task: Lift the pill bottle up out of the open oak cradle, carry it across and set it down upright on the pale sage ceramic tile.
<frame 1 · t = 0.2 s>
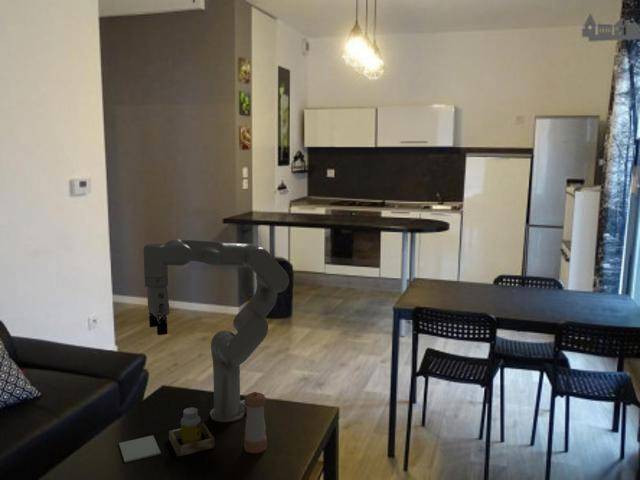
hand: (158, 330, 185), 36 cm above the table, tool pointing down, fingers open, 9 cm apart
ceramic tile: (139, 449, 178), on the table
pepper shaker: (255, 447, 180), on the table
pill bottle: (191, 444, 182), resting in oak cradle
oak cradle: (191, 443, 182), on the table
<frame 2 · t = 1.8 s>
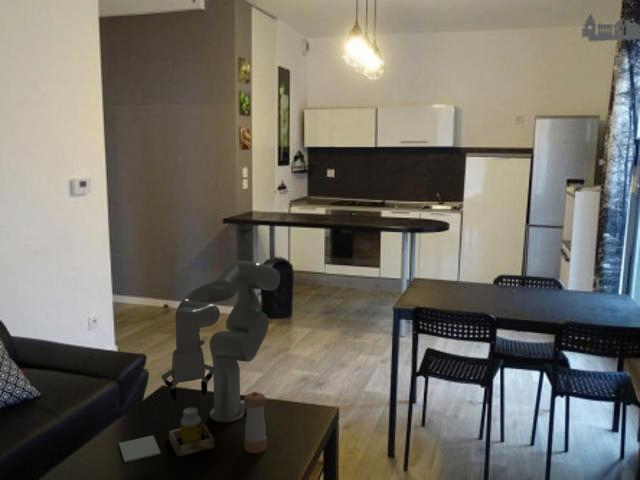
hand: (189, 396, 179), 17 cm above the table, tool pointing down, fingers open, 9 cm apart
nothing on the table moved.
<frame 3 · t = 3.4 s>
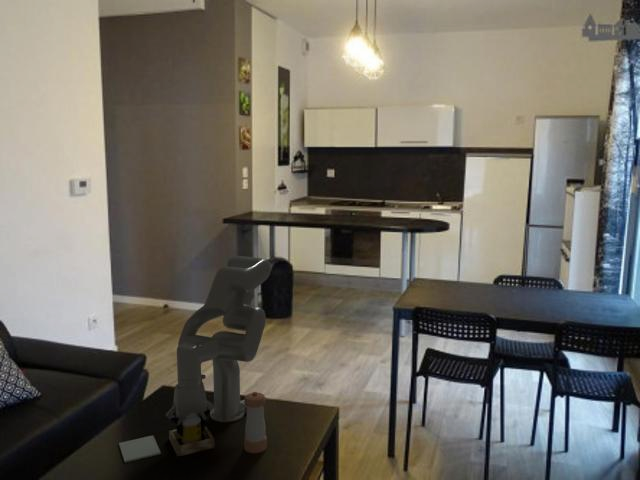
hand: (191, 431, 181), 4 cm above the table, tool pointing down, fingers closed on pill bottle, 6 cm apart
pill bottle: (191, 443, 182), resting in oak cradle, touching gripper
everything else where it was.
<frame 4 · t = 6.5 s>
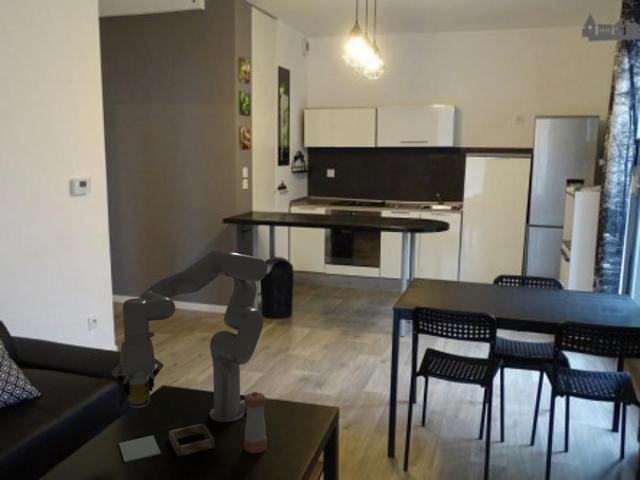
hand: (138, 391, 175), 20 cm above the table, tool pointing down, fingers closed on pill bottle, 6 cm apart
pill bottle: (139, 404, 176), point 16 cm above the table, touching gripper
everything else where it was.
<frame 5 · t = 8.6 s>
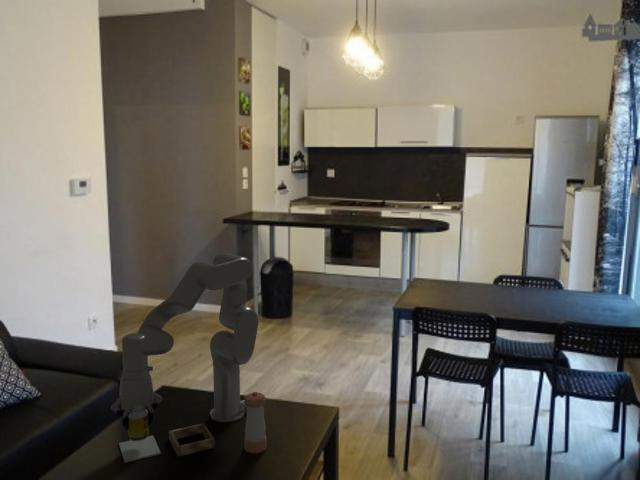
hand: (138, 424, 177), 9 cm above the table, tool pointing down, fingers closed on pill bottle, 6 cm apart
pill bottle: (138, 437, 177), point 4 cm above the table, touching gripper
everything else where it was.
when the fingers open (6 cm above the table, at t = 10.0 s): pill bottle drops 1 cm, resting on ceramic tile.
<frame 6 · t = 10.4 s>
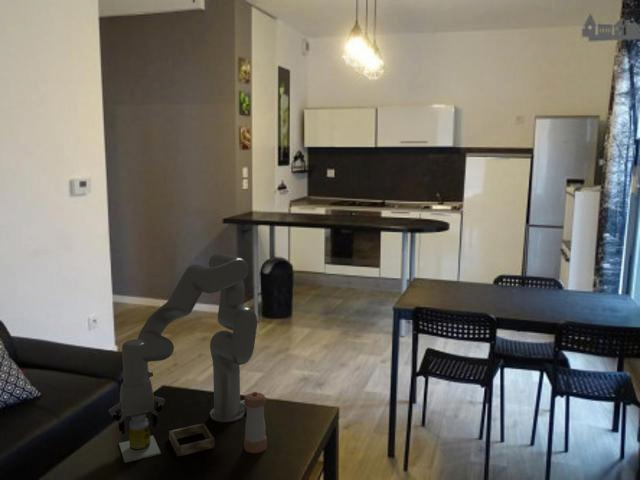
hand: (138, 428, 177), 7 cm above the table, tool pointing down, fingers open, 9 cm apart
pill bottle: (140, 447, 178), resting on ceramic tile
everything else where it was.
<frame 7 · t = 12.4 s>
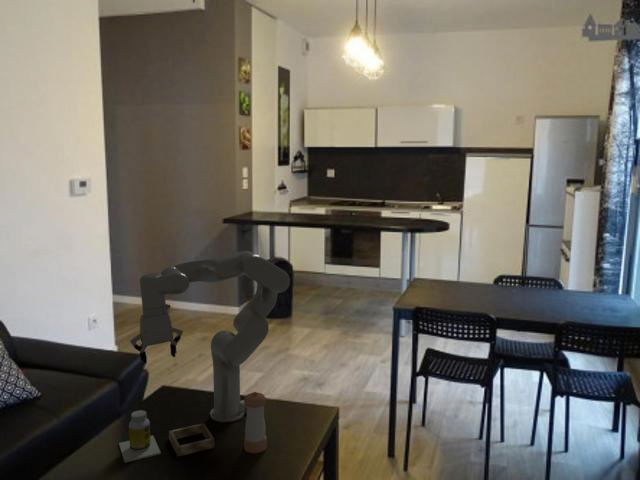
hand: (159, 359, 186), 26 cm above the table, tool pointing down, fingers open, 9 cm apart
nothing on the table moved.
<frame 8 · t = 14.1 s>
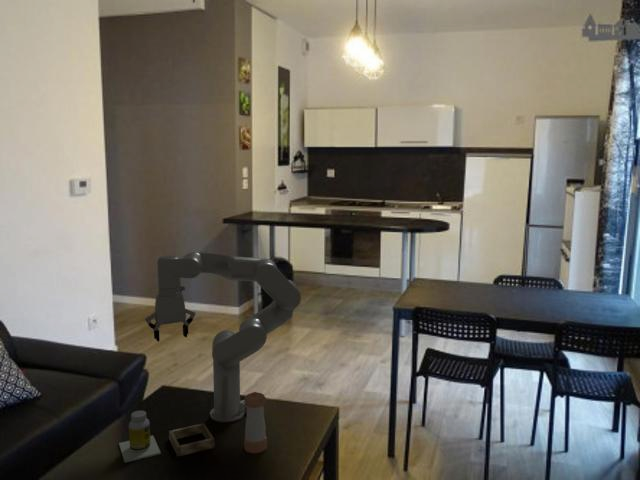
hand: (171, 338, 194), 30 cm above the table, tool pointing down, fingers open, 9 cm apart
nothing on the table moved.
at the end: pill bottle 0.3 cm off-centre on the ceramic tile, point 0.4 cm above the ceramic tile's base; pill bottle tilted 0°; the gripper is holding nothing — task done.
